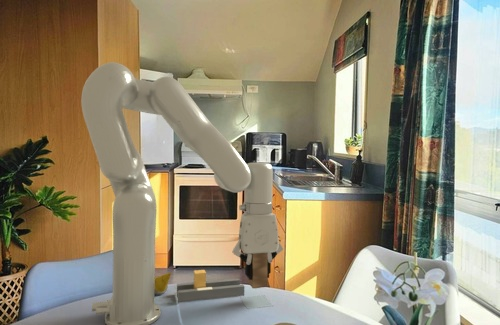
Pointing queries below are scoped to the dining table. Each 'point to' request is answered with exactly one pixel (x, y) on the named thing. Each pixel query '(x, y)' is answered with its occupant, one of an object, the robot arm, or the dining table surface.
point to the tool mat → (256, 302)
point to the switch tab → (199, 279)
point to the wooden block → (259, 270)
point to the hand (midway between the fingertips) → (257, 276)
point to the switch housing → (210, 290)
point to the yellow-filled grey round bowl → (161, 283)
